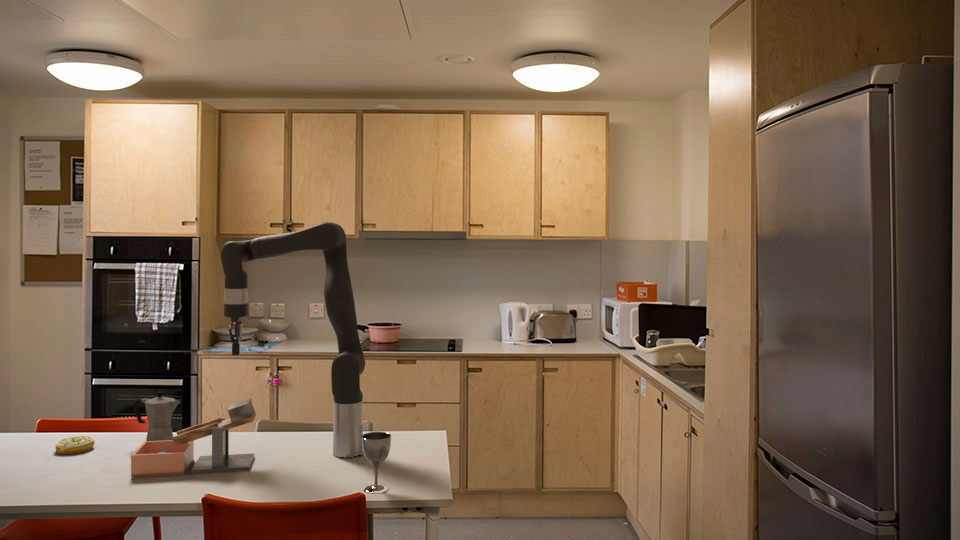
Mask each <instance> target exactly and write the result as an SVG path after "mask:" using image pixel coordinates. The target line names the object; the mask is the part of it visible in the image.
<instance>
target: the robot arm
mask: <svg viewBox="0 0 960 540" xmlns="http://www.w3.org/2000/svg"><path fill="white" fill-rule="evenodd" d="M298 251H299V252H301V251H322V252H323V257H324V262H325V263H324V264H325V275H324V276H325V278H324V287H323V296H324V297H323V298H324V303H325V304H324V305H325V310H326V314H327V317H328V320H329V322H330V324H331V327H332V329H333V331H334V333H335V336H336V339H337V341H336V342H337V349H338V354H337V356H335V357H334V359H333V361H332V363H331V368H330V370H331V373H330V376H331V377H330V379H331V380H330V381H331V382H330V383H331V384H330V385H331V394H332V396H333V418H332V419H333V425H332V426H333V427H332V429H333V430H332V432H333V433H332V435H333V436H332V438H333V440H332V441H333V442H332V446H333V447H332V450H333V451H332V455H333V456H334V457H336V456H337V458H341V457H344V459H345V458H346V459H347V457H349V458H354V456H356V457H359V456H358V455H361V456H363V448H362V435H363V434H364V433H363V431H364V429H363V427H364V426H363V402H364V401H363V400H364V397H363V396H364V395H363V392H362V390H361V382H360V381H361V377H360V376H361V375H362V374H363V373H364V370H365V368H366V358H365V355H364V352H363V351H364V350H363V348H362V344H361V340H360V334H359V329H358V318H357V312H356V311H357V310H356V306H355V305H356V302H355V296H354V292H353V287H352V280H351V275H350V270H349V265H348V255H347V254H348V250H347V235H346V232H345V230H344V228H343V227H342V226H341V225H340V224H338V223H335V222H330V221H329V222H328V221H325V222H321V223H319V224H316V225H313V226H311V227H310V226H309V227H308V228H304V229H301V230H297V231H293V232H286V233H278V234H271V235H266V236H265V235H264V236H260V237H255V238H253V239H249V240H239V241H238V240H237V241H236V240H231V241H227V242H225V243H224V244H223V245H222V248H221V250H220V260H221V266H222V271H223V274H224V292H223V317H225V318H230V322H229V323H228V332H229V341H230V344H231V355H232V356H239V355H240V353H241V341H242V336H243V327H244V322H243V321H242V318H245V317H248V316H249V292H248V274H247V272H246V271H245V270H244V269H243V263H246V262H247V263H248V262H251V261H255V260H260V259H262V260H263V259H267V258H274V257H279V256H284V255H288V254H292V253H294V252H298Z"/></svg>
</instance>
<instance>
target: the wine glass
mask: <svg viewBox="0 0 960 540" xmlns="http://www.w3.org/2000/svg"><path fill="white" fill-rule="evenodd" d="M391 446H392V435H391V433H389V432H386V431H370V432H367V433H363V435H362V448H363V452H362V454H363V457H365V459H366V460H367V461H368V462H369V464H370V465H371V467H372V469H373V474H374V484H370V486H369V485H366V486H367V487H366V486H365V487H366V488H365V489H364V490H363V489H362V490H363V492H364V493H366V492H372V491H373V492H374V491H380V490H383V489H384V486H382V485H383V484H380V485H378V484H379V483H378V481H379V480H378V477H379V471H380V467H381V465H382V464H383V463H384V462H385V461H386V459H387V458H388V457H389V455H390V451H391Z"/></svg>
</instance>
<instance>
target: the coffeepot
mask: <svg viewBox="0 0 960 540" xmlns="http://www.w3.org/2000/svg"><path fill="white" fill-rule="evenodd" d="M156 393H157V397H153V398H136V399H135V400H134V402H132V409H133V410H134V411H133V412H134V413H135V416H136V419H137V422H138V424H145V423H146V420H147V422H148V427H147V434H146V439H145V440H146V441H163V440H172V437H173V436H174V434H173V429H172V419H173V413H174V411H175V409H176V408H177V406H178V405H179V404H180V403H181V401H180V400H178V399H175V398H173V397H166V396H162V395H163V391H157V392H156ZM139 405H142V406H145V411H146V412H145V413H146V417H147V419H146V420H143V419H142V414H141V411H140V406H139Z"/></svg>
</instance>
